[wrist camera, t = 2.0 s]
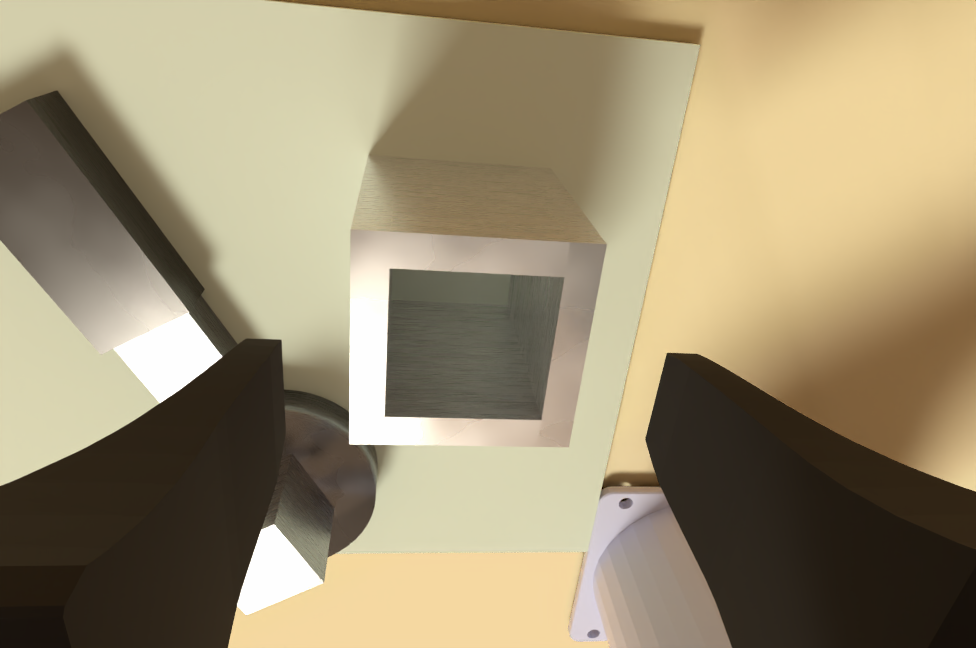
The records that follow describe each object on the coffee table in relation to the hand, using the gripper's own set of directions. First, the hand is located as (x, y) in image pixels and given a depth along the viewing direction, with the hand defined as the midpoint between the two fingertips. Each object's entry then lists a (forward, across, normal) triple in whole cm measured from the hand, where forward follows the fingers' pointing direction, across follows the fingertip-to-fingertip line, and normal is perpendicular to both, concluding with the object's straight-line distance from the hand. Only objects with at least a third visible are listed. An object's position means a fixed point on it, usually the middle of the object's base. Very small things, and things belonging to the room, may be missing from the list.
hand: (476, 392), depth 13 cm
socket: (+8, 0, 0) cm, 8 cm away
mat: (+8, +5, +3) cm, 10 cm away
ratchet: (+8, +7, +4) cm, 11 cm away
